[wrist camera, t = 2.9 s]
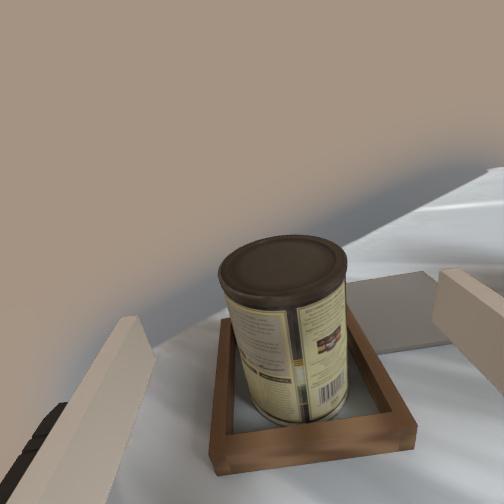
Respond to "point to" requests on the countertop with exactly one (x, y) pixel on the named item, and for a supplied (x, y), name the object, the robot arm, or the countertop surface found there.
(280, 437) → the brown wooden square frame
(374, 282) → the mat
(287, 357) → the coffee can
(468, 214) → the countertop surface
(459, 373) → the countertop surface
